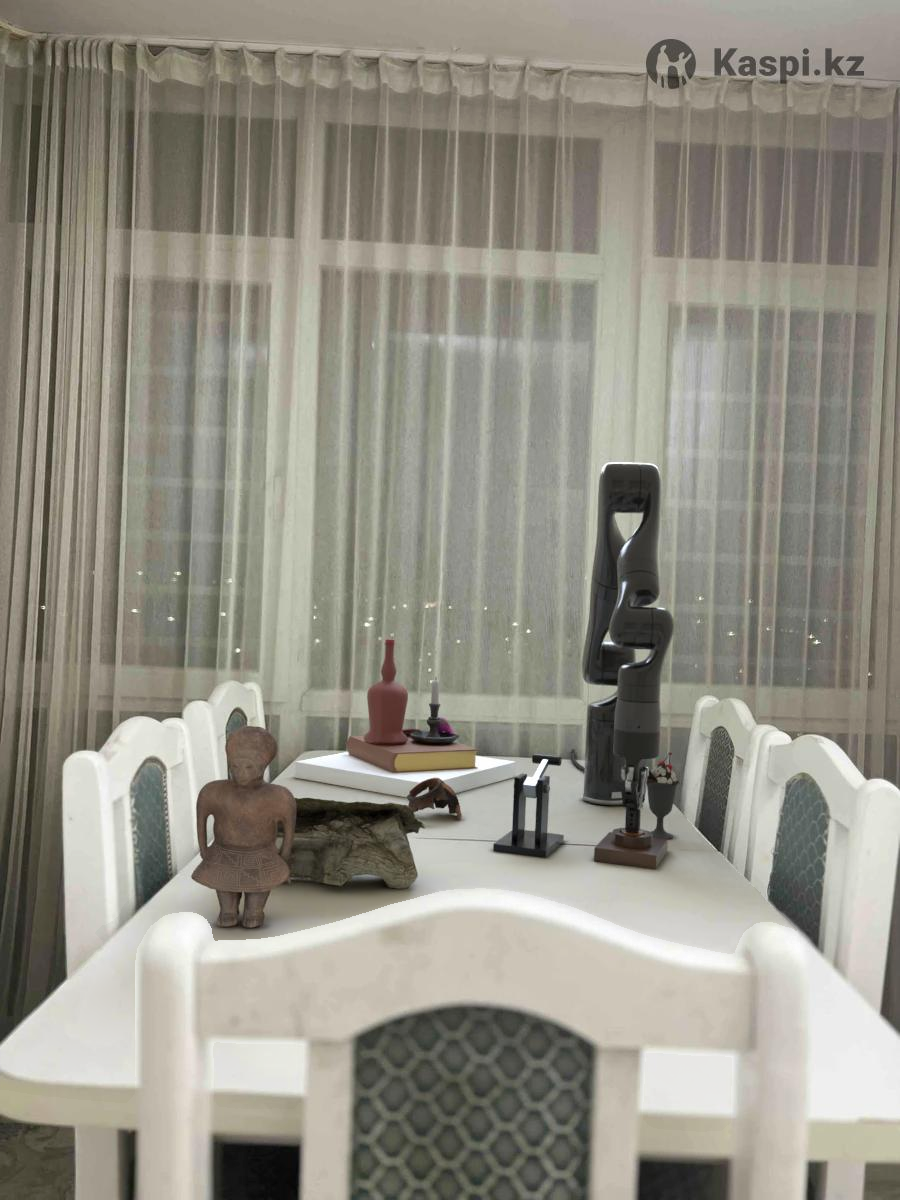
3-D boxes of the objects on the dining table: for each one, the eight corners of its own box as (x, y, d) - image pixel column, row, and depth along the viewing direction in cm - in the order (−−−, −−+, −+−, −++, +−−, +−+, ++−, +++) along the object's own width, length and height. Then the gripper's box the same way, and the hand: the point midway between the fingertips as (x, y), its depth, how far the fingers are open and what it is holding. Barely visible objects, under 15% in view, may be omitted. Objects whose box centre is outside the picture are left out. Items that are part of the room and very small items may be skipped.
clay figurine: (180, 933, 128) (187, 729, 127) (199, 908, 138) (206, 718, 137) (286, 938, 128) (294, 733, 127) (298, 912, 138) (305, 722, 137)
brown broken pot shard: (463, 826, 192) (444, 788, 190) (417, 845, 194) (398, 807, 192) (468, 797, 204) (449, 761, 202) (424, 814, 205) (405, 779, 204)
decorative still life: (522, 774, 245) (528, 642, 244) (427, 801, 211) (433, 648, 210) (399, 755, 263) (405, 633, 263) (294, 777, 230) (300, 636, 229)
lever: (534, 762, 189) (534, 750, 188) (561, 764, 187) (561, 752, 186) (515, 796, 178) (514, 783, 177) (544, 799, 176) (543, 786, 175)
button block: (608, 844, 181) (609, 821, 181) (667, 852, 178) (668, 828, 178) (593, 861, 170) (594, 836, 170) (655, 869, 167) (657, 844, 167)
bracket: (513, 835, 185) (516, 768, 185) (563, 841, 182) (566, 774, 182) (493, 850, 174) (496, 779, 174) (545, 857, 171) (548, 785, 171)
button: (623, 838, 176) (623, 827, 176) (644, 840, 175) (645, 830, 175) (619, 843, 173) (619, 832, 173) (640, 845, 172) (641, 835, 172)
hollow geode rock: (230, 910, 152) (214, 855, 141) (243, 834, 161) (229, 776, 150) (423, 912, 152) (422, 857, 141) (425, 836, 161) (425, 778, 150)
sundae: (680, 834, 191) (683, 752, 191) (675, 842, 185) (679, 757, 185) (643, 829, 194) (647, 748, 193) (638, 837, 187) (641, 754, 187)
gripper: (653, 734, 166) (648, 843, 166) (666, 724, 179) (661, 826, 179) (606, 730, 169) (601, 837, 169) (622, 721, 181) (617, 821, 181)
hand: (632, 831), depth 174 cm, fingers closed
